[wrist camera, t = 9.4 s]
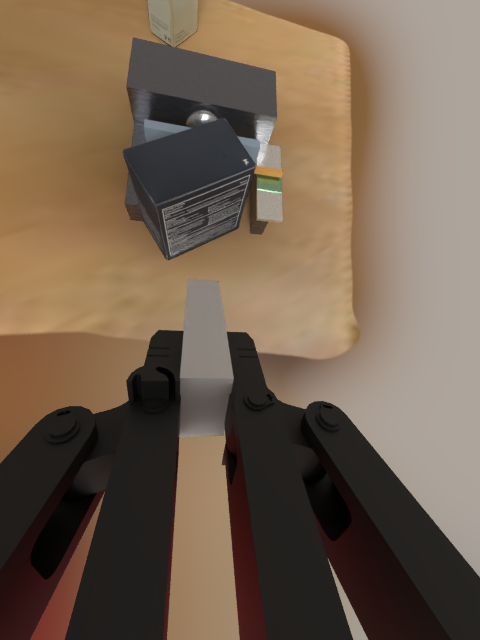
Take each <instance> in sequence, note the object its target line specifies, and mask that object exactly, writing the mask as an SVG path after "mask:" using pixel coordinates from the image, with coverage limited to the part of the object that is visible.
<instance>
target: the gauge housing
mask: <svg viewBox="0 0 480 640" xmlns="http://www.w3.org/2000/svg"><path fill="white" fill-rule="evenodd" d="M127 91H128V96H129V100H130V105H131V110H132V114H133V119H134V131H133V139H132V147H134V146H137V145H140V144H144V143H147V142H146V137H145V131H144V120H145V119H147V120H152V121H158V122H163V123H169V124H174V125H179V126H185V127H190V128H194V127H197V126H200V125H203V124H206V123H209V122H212V121H215V120H218V119H221V118H225V119H226V120H227V122H228V123H229V125H230V126H231V128H232V129H233V131H234V132H235V134H236V135H237V136H239V137H244V138H250V139H255V140H260V150H259V153H258V157H257V160H256V165H257V166H261V167H267V168H273V169H279V170H281V155H280V147H279V146H274V145H268V142H269V139H270V136H271V134H272V131H273V128H274V125H275V122H276V119H277V103H276V72H275V71H271V70H267V69H263V68H259V67H254V66H250V65H246V64H242V63H238V62H233V61H229V60H225V59H221V58H217V57H213V56H208V55H204V54H200V53H196V52H192V51H188V50H183V49H179V48H175V47H171V46H167V45H163V44H158V43H154V42H150V41H146V40H142V39H138V38H133V41H132V49H131V57H130V64H129V72H128V80H127ZM125 205H126V208H127V211H128V213H129V216H130V219H131V220H138V221H144V220H143V216H142V213H141V210H140V206H139V203H138V200H137V196H136V193H135V190H134V187H133V184H132V180H131V177H130V174H129V173H128V182H127V190H126V199H125ZM268 222H276V223H282V222H283V216H282V177H281V178H279V177H273V176H267V175H260V174H254V175H253V178H252V181H251V233H252V234H261V235H262V233H263V231H264V229H265V227H266V225H267V223H268Z"/></svg>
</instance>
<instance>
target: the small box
mask: <svg viewBox="0 0 480 640" xmlns="http://www.w3.org/2000/svg"><path fill="white" fill-rule="evenodd" d="M123 155H124V159H125V161H126V164H127V168H128V171H129V174H130V177H131V180H132V184H133V187H134V190H135V193H136V196H137V200H138V203H139V206H140V210H141V213H142V216H143V220H144V223H145V224H146V226H147V228H148V229H149V231H150V233H151V235H152V236H153V238H154V240H155V241H156V243H157V245H158V246H159V248H160V250H161V252H162V253H163V255H164V257H165V258H166V260H170V259H172V258H175V257H177V256H179V255H181V254H184V253H186V252H188V251H190V250H193V249H194V248H197V247H199V246H201V245H203V244H205V243H208V242H210V241H212V240H214V239H216V238H219V237H221V236H223V235H225V234H227V233H229V232H231V231H234V230H236V229H238V227H239V223H240V219H241V215H242V212H243V208H244V205H245V201H246V199H247V195H248V192H249V189H250V185H251V181H252V178H253V175H254V171H255V169H256V166H257V165H256V163H255V162H254V160H253V159H252V158H251V156H250V155H249V153H248V152H247V150H246V148H245V147H244V146H243V144H242V143H241V141H240V140H239V138H238V137H237V135H236V134H235V132H234V131H233V129H232V128H231V126H230V125H229V123H228V122H227V120H226V119H225V118H221V119H218V120H215V121H212V122H209V123H206V124H203V125H200V126H197V127H194V128H191V129H188V130H184V131H181V132H178V133H175V134H172V135H169V136H166V137H163V138H159V139H156V140H153V141H150V142H147V143H144V144H140V145H137V146H134V147H131V148H128V149H124V150H123Z"/></svg>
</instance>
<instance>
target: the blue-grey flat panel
mask: <svg viewBox="0 0 480 640" xmlns="http://www.w3.org/2000/svg"><path fill="white" fill-rule="evenodd" d="M188 129H191V128H190V127H185V126H179V125H174V124H169V123H163V122H158V121H152V120H147V119H145V120H144V131H145V137H146V142H150V141H153V140H156V139H159V138H163V137H166V136H169V135H172V134H175V133H178V132H181V131H184V130H188ZM237 137H238V138H239V140H240V141H241V143H242V144H243V146H244V147H245V148H246V150H247V152H248V153H249V155H250V156H251V158H252V159H253V160H254V162H255V163H256V160H257V157H258V153H259V150H260V140H255V139H250V138H244V137H239V136H237ZM254 174H260V175H267V176H273V177H279V178H281V177H282V175H283V170H279V169H273V168H267V167H261V166H256V169H255V171H254Z"/></svg>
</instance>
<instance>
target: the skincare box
mask: <svg viewBox="0 0 480 640" xmlns="http://www.w3.org/2000/svg"><path fill="white" fill-rule="evenodd" d="M147 1H148V10H149V20H150V29H151V32H152V33H154V34H155V35H156V36H158V37H159V38H160V39H162V40H163V41H165V42H166V43H167V44H169V45H170V46H172V47H176V46H178V45H179V44H180V43H182V42H183V41H184V40H186V39H187V38H188V37H190V36H191V35H192V34H194V33H195V32H196V31H197V29H198V0H147Z"/></svg>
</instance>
